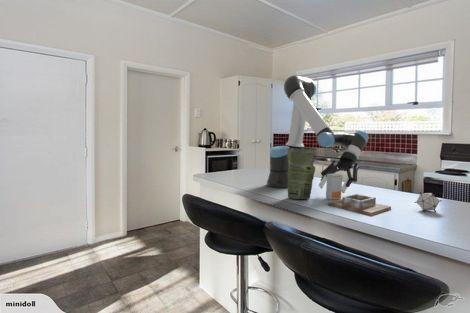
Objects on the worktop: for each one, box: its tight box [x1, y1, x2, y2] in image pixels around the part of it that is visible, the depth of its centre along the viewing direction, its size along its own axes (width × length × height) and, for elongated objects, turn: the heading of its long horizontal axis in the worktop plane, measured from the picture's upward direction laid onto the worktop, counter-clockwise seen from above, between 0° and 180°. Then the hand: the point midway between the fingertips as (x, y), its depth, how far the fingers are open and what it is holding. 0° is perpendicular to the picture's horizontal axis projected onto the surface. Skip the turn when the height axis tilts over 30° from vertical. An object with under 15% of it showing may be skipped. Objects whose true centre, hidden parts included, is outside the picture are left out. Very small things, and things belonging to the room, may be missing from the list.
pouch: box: [287, 147, 318, 200], centre depth 141 cm, size 11×12×25 cm
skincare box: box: [325, 173, 343, 200], centre depth 141 cm, size 6×4×12 cm
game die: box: [413, 191, 443, 213], centre depth 120 cm, size 9×8×10 cm
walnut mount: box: [327, 193, 392, 216], centre depth 126 cm, size 20×16×4 cm
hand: (330, 189), depth 140 cm, fingers open, 12 cm apart
